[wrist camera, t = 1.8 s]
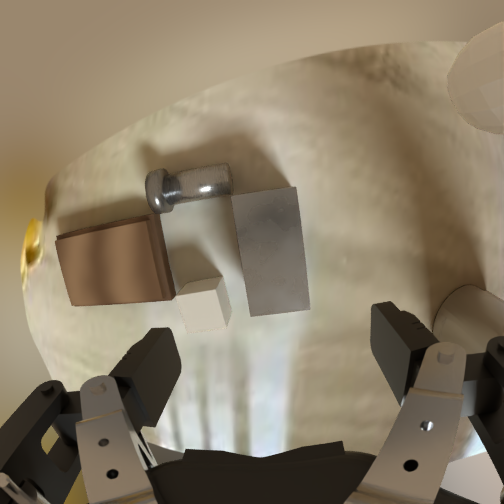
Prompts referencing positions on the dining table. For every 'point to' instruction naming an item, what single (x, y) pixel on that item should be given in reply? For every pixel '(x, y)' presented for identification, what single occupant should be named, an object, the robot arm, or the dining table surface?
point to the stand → (116, 263)
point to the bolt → (186, 186)
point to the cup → (480, 80)
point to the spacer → (204, 305)
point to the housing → (272, 251)
